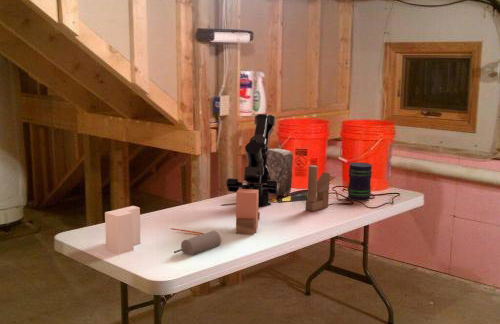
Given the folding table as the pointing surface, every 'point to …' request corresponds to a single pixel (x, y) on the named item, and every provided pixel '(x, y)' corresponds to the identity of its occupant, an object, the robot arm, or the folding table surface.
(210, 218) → the folding table surface
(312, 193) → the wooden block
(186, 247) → the motor
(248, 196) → the block
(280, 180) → the stone block
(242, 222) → the rail
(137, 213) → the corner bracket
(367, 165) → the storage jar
